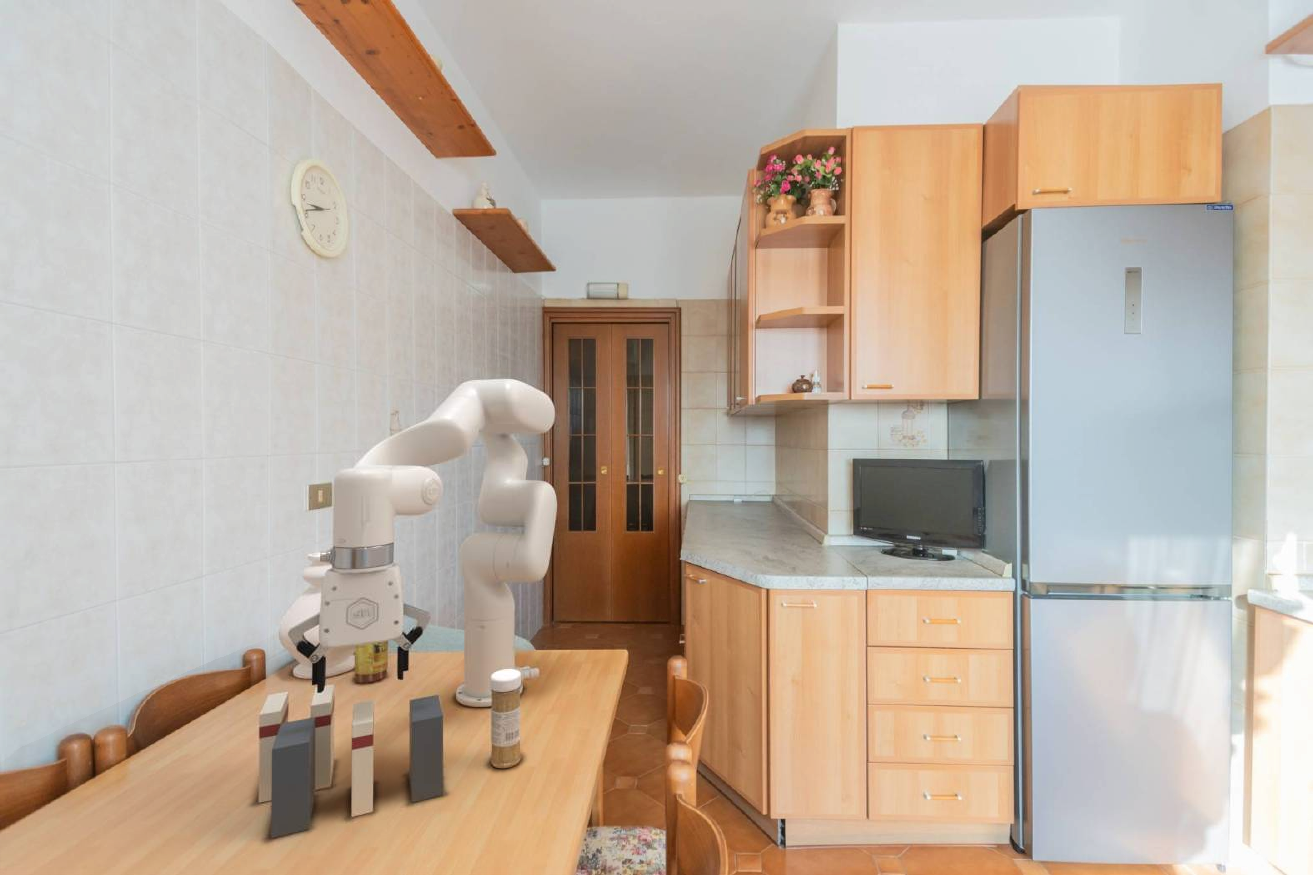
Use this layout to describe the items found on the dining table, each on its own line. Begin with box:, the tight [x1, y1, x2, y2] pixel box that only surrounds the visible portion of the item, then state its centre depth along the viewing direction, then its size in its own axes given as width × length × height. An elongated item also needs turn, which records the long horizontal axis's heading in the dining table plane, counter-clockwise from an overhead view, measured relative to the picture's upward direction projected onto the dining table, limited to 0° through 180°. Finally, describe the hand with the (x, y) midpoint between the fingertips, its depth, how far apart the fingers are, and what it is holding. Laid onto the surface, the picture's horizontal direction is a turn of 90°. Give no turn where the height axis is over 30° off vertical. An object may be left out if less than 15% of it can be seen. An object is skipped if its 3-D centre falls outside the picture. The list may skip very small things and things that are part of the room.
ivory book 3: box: [350, 699, 375, 818], centre depth 78 cm, size 2×7×12 cm, turn 26°
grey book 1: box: [270, 717, 316, 840], centre depth 75 cm, size 4×8×11 cm, turn 26°
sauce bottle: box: [354, 641, 389, 684], centre depth 120 cm, size 7×6×20 cm
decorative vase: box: [278, 551, 355, 680], centre depth 126 cm, size 18×18×25 cm
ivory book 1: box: [258, 691, 289, 804], centre depth 81 cm, size 2×7×12 cm, turn 26°
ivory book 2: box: [310, 683, 336, 791], centre depth 84 cm, size 2×7×12 cm, turn 26°
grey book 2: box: [408, 694, 444, 804], centre depth 82 cm, size 4×8×11 cm, turn 26°
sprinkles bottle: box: [490, 669, 522, 769], centre depth 87 cm, size 5×5×14 cm
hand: (361, 682), depth 78 cm, fingers open, 9 cm apart
